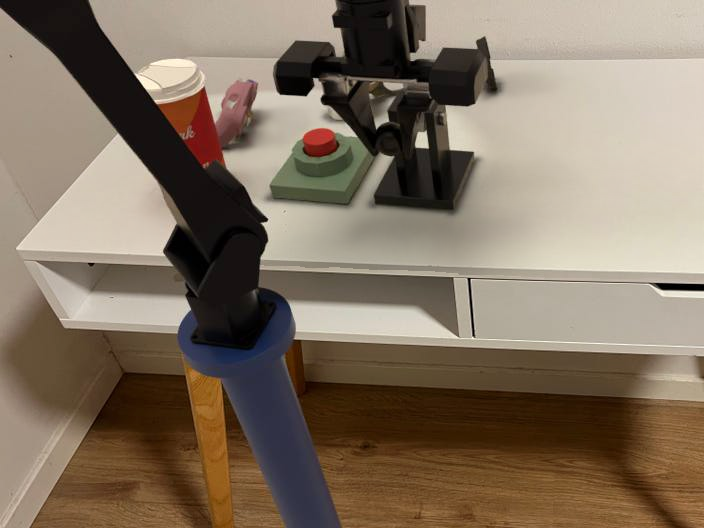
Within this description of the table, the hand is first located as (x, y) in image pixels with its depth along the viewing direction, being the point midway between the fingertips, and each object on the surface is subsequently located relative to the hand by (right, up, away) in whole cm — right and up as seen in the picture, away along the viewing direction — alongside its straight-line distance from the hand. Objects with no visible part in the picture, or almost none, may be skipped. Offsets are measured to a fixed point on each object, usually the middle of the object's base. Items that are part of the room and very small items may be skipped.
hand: (392, 155), depth 77 cm
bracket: (+2, 0, +12) cm, 12 cm away
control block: (-9, +2, +14) cm, 17 cm away
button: (-9, +4, +12) cm, 16 cm away
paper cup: (-23, 0, +14) cm, 27 cm away
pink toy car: (-22, +9, +23) cm, 33 cm away
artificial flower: (0, +14, +25) cm, 29 cm away
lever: (+1, +2, +3) cm, 4 cm away
